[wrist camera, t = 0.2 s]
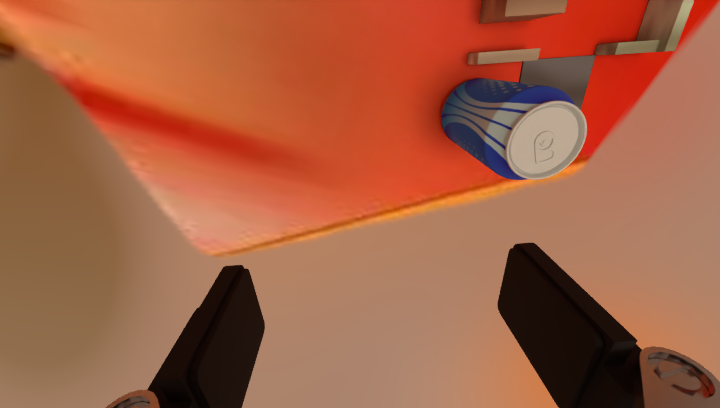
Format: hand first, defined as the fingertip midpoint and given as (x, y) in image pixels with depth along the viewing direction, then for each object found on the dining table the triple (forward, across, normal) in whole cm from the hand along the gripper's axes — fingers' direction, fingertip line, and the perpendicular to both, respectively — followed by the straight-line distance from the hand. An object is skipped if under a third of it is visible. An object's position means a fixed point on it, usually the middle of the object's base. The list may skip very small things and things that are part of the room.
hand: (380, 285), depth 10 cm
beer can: (+31, -16, 0) cm, 34 cm away
